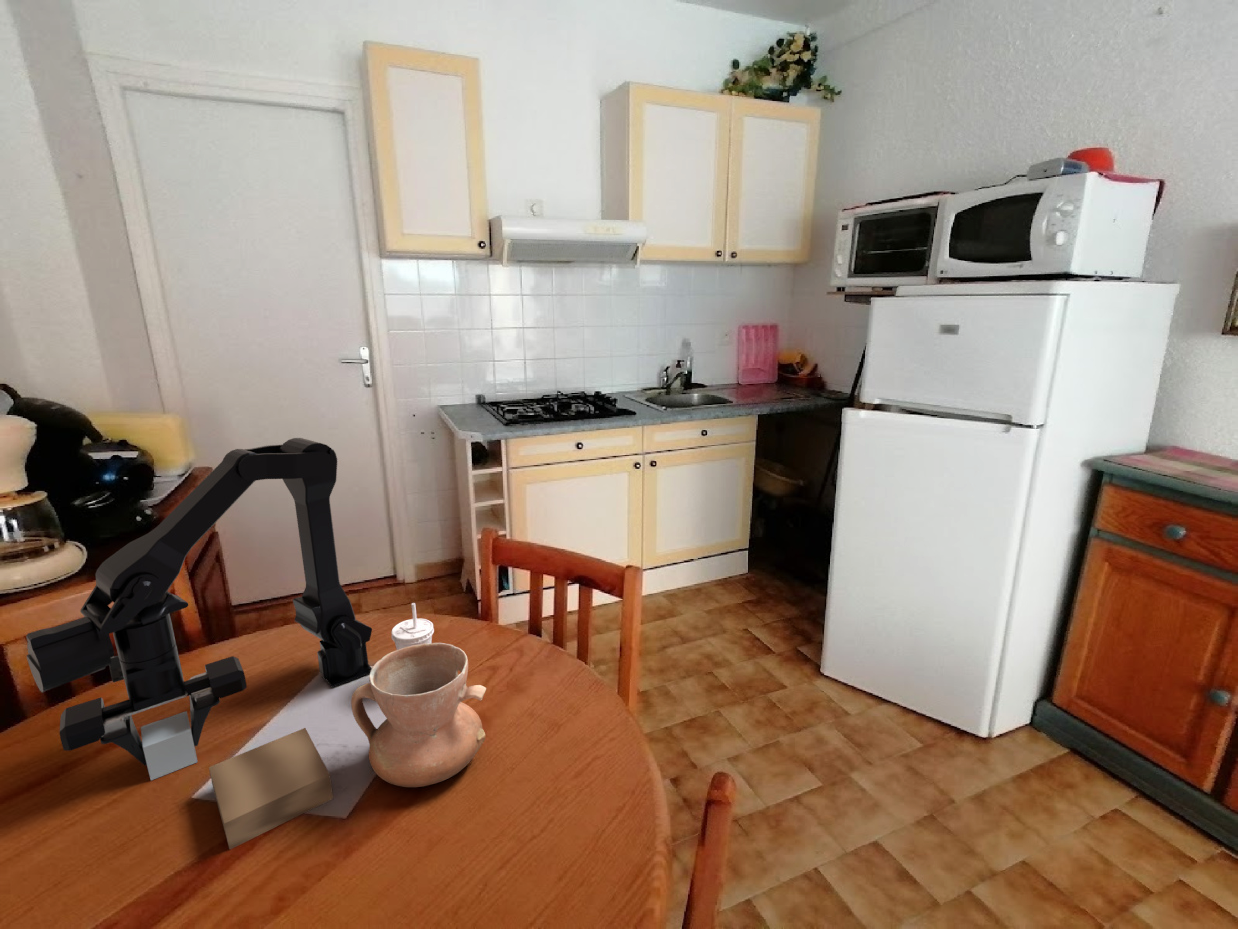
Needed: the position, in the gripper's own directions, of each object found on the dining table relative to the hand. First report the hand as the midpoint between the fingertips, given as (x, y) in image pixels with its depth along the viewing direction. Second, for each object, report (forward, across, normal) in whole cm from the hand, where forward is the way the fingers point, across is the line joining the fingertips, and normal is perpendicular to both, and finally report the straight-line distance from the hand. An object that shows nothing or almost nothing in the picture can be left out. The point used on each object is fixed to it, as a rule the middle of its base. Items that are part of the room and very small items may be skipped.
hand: (171, 753), depth 80 cm
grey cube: (+1, 0, 0) cm, 1 cm away
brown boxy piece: (+2, -9, +15) cm, 18 cm away
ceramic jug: (+1, -26, +21) cm, 33 cm away
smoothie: (+1, -32, +4) cm, 32 cm away
